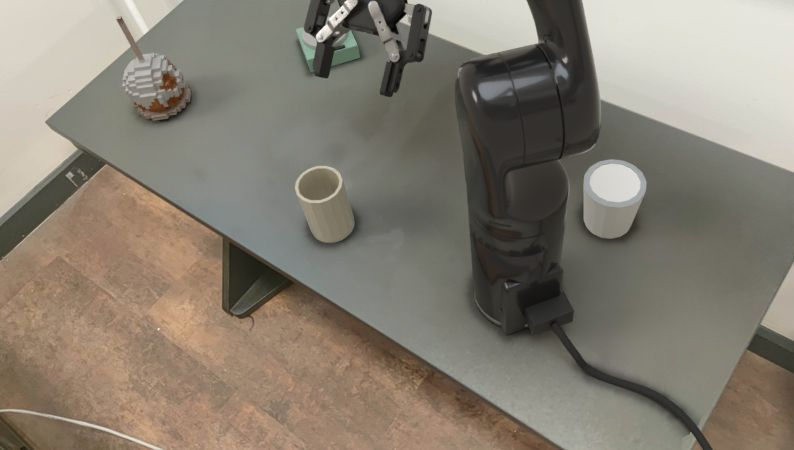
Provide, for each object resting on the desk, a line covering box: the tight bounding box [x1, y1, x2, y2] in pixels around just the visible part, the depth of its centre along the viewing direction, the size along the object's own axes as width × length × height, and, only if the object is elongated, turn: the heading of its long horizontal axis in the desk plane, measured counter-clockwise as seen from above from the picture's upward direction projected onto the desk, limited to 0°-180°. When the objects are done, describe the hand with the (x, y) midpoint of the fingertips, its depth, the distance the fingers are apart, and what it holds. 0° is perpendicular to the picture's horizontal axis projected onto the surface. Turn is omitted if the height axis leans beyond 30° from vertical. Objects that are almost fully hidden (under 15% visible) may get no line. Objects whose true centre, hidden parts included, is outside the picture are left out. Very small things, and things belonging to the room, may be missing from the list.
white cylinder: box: [582, 158, 647, 240], centre depth 80 cm, size 7×7×7 cm
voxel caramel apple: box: [115, 15, 192, 122], centre depth 95 cm, size 8×8×15 cm
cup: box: [294, 165, 356, 244], centre depth 82 cm, size 5×5×8 cm
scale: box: [295, 15, 361, 73], centre depth 104 cm, size 8×8×3 cm
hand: (353, 86), depth 80 cm, fingers open, 8 cm apart
